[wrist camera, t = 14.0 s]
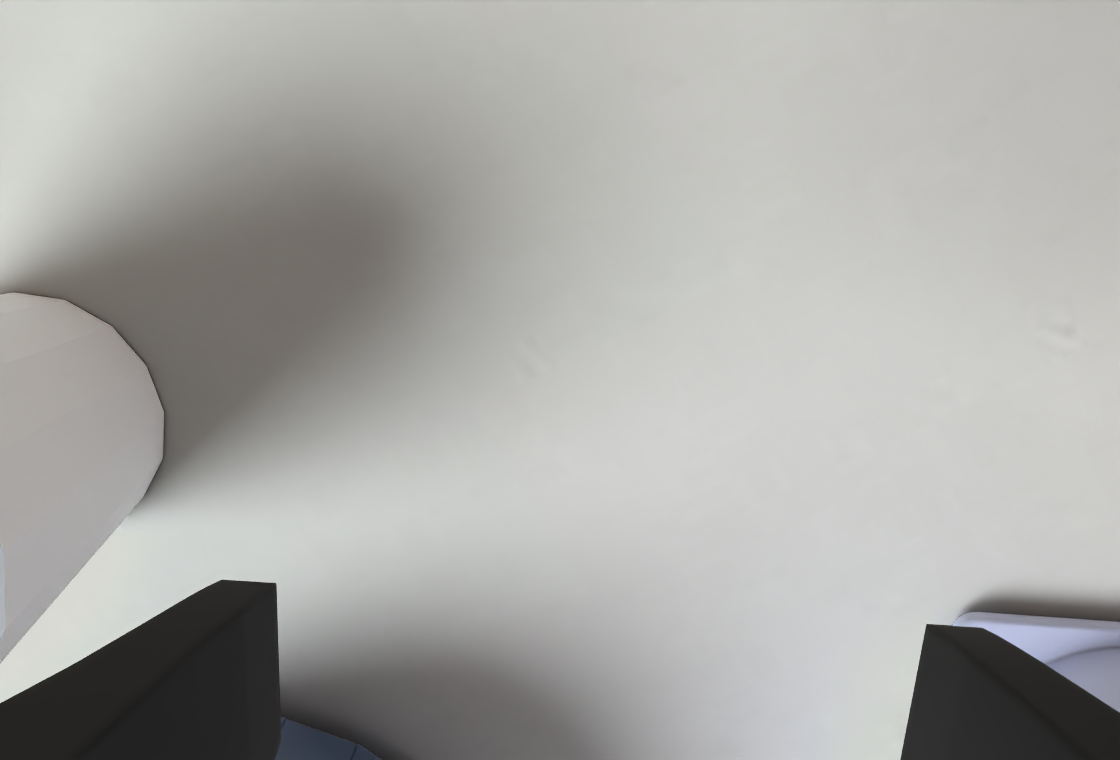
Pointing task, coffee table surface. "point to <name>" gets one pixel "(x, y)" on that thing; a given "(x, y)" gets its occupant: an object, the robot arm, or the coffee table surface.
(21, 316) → the white cylinder
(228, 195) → the coffee table surface
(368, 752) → the bowl
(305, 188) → the coffee table surface
